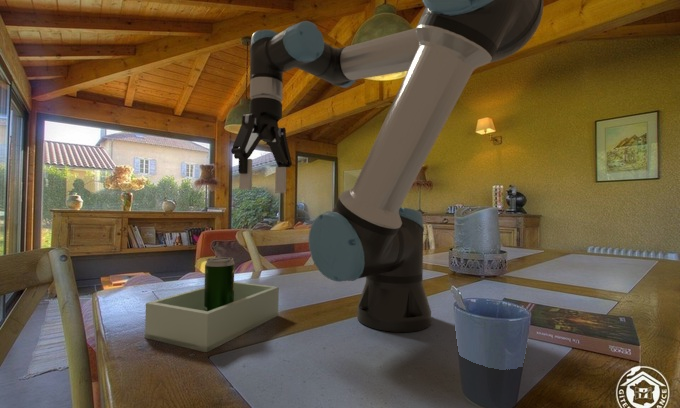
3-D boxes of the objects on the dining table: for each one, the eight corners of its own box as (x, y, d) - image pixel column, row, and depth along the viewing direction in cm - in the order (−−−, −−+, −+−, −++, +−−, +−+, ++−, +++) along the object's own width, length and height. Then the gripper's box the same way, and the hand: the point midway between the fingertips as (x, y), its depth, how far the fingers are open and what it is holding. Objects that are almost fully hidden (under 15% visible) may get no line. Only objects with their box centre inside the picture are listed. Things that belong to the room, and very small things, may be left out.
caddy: (278, 315, 70) (278, 287, 70) (206, 352, 51) (207, 314, 51) (226, 307, 75) (227, 280, 75) (144, 337, 57) (145, 303, 57)
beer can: (210, 328, 59) (212, 262, 60) (199, 320, 63) (200, 258, 63) (238, 321, 63) (239, 259, 63) (226, 314, 67) (227, 256, 67)
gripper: (281, 117, 90) (280, 194, 90) (214, 84, 67) (212, 187, 67) (305, 114, 87) (304, 193, 87) (244, 79, 64) (242, 187, 64)
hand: (264, 191), depth 77 cm, fingers open, 13 cm apart
